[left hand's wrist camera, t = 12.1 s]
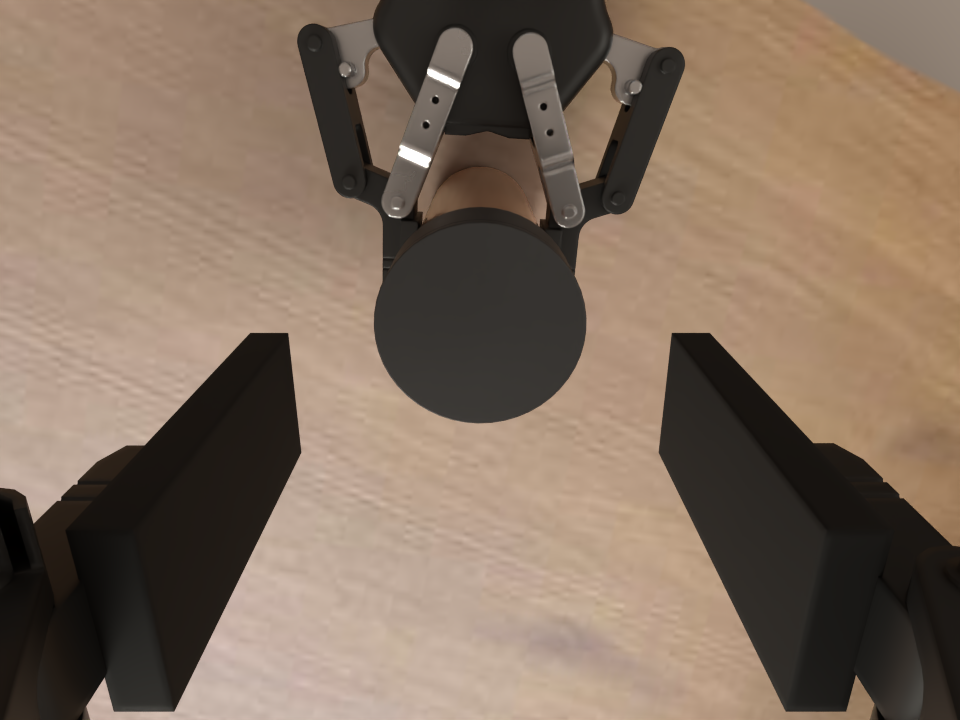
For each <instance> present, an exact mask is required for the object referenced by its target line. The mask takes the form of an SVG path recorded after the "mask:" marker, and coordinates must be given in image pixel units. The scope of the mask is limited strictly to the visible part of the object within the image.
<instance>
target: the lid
mask: <svg viewBox="0 0 960 720" xmlns="http://www.w3.org/2000/svg"><path fill="white" fill-rule="evenodd" d="M374 332H375V340H376V344H377V348H378V352H379V355H380V357H381V360H382V362H383V364H384V366H385V368H386V370H387V372H388V373H389V375H390V377H391V378H392V379H393V381H394V382H395V383H396V385H397V386H398V387H399V388H400V389H401V390H402V391H403V392H404V393H405V394H406V395H407V396H408V397H409V398H411V399H412V400H413V401H414V402H416V403H417V404H419V405H420V406H422V407H423V408H425V409H427V410H428V411H431V412H433V413H435V414H437V415H439V416H442V417H445V418H448V419H451V420H456V421H461V422H467V423H493V422H499V421H505V420H508V419H512V418H515V417H518V416H521V415H523V414H525V413H528V412H530V411H532V410H533V409H535V408H537V407H539V406H540V405H542V404H543V403H544V402H546V401H547V400H548V399H550V398H551V397H552V396H553V395H554V394H555V393H556V392H557V391H558V390H559V389H560V388H561V387H562V386H563V385H564V383H565V382H566V381H567V380H568V379H569V377H570V375H571V374H572V372H573V370H574V369H575V367H576V365H577V362H578V360H579V358H580V356H581V352H582V349H583V345H584V341H585V334H586V311H585V303H584V300H583V296H582V292H581V289H580V287H579V285H578V283H577V280H576V278H575V276H574V274H573V272H572V270H571V268H570V266H569V264H568V262H567V260H566V258H565V256H564V255H563V253H562V251H561V250H560V248H559V247H558V245H557V244H556V243H555V242H554V240H553V239H552V238H551V237H550V236H549V235H548V234H547V233H546V232H545V231H544V230H543V229H542V228H540V227H539V226H537V225H536V224H535V223H533V222H532V221H530V220H528V219H526V218H524V217H522V216H520V215H518V214H515V213H513V212H510V211H507V210H502V209H498V208H490V207H469V208H463V209H458V210H454V211H451V212H448V213H445V214H442V215H440V216H438V217H436V218H434V219H432V220H430V221H429V222H427V223H426V224H424V225H423V226H421V227H420V228H419V229H418V230H417V231H415V232H414V233H413V234H412V235H411V236H410V237H409V238H408V240H407V241H406V242H405V243H404V244H403V246H402V247H401V249H400V250H399V252H398V253H397V255H396V257H395V259H394V261H393V263H392V265H391V267H390V269H389V271H388V273H387V275H386V277H385V279H384V281H383V283H382V285H381V287H380V291H379V294H378V297H377V300H376V306H375V312H374Z"/></svg>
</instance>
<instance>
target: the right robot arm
mask: <svg viewBox="0 0 960 720" xmlns="http://www.w3.org/2000/svg"><path fill="white" fill-rule="evenodd" d="M297 44H298V48H299V52H300V56H301V60H302V64H303V68H304V72H305V76H306V79H307V83H308V87H309V91H310V95H311V99H312V103H313V106H314V110H315V114H316V118H317V122H318V126H319V130H320V134H321V137H322V141H323V145H324V149H325V153H326V157H327V161H328V165H329V168H330V172H331V176H332V180H333V184H334V187H335V189H336V191H337V192H338V193H339V194H340V195H342V196H343V197H346V198H355V199H357V200H360V201H362V202H364V203H367V204H369V205H371V206H373V207H374V208H375V209H376V210H377V211H378V212H379V213H380V215H381V217H382V221H383V281H384V279H385V277H386V275H387V273H388V271H389V269H390V267H391V265H392V263H393V261H394V259H395V257H396V255H397V253H398V252H399V250H400V249H401V247H402V246H403V244H404V243H405V242H406V241H407V240H408V238H409V237H410V236H411V235H412V234H413V233H414V232H415V231H417V230H418V229H419V228H420V227H421V226H422V213H423V212H417V205H418V197H419V195H420V192H421V190H422V187H423V184H424V182H425V179H426V177H427V174H428V172H429V169H430V166H431V164H432V161H433V159H434V157H435V154H436V152H437V149H438V147H439V144H440V142H441V139H442V137H443V134H444V132H445V134H448V135H465V136H466V135H471V134H475V133H480V132H484V131H490V132H493V133H496V134H499V135H501V136H504V137H507V138H515V139H530V143H531V147H532V151H533V154H534V158H535V161H536V164H537V168H538V171H539V175H540V179H541V183H542V186H543V190H544V194H545V198H546V202H547V210H546V220H545V219H540V228H542V229H543V230H544V231H545V232H546V233H547V234H548V235H549V236H550V237H551V238H552V239H553V240H554V242H555V243H556V244H557V245H558V247H559V248H560V250H561V251H562V253H563V255H564V256H565V258H566V260H567V262H568V264H569V266H570V268H571V270H572V272H573V274H574V275H575V266H576V257H577V248H578V239H579V233H580V230H581V228H582V227H583V225H584V224H585V223H586V222H588V221H589V220H591V219H593V218H596V217H600V216H603V215H606V214H610V213H612V214H622V213H624V212H626V211H628V210H629V209H630V207H631V206H632V204H633V202H634V199H635V197H636V194H637V191H638V189H639V186H640V184H641V181H642V178H643V176H644V173H645V171H646V168H647V165H648V163H649V160H650V157H651V155H652V152H653V150H654V147H655V144H656V142H657V139H658V137H659V134H660V131H661V129H662V126H663V124H664V121H665V118H666V116H667V113H668V110H669V108H670V105H671V103H672V100H673V97H674V95H675V92H676V90H677V87H678V84H679V82H680V79H681V77H682V74H683V71H684V68H685V60H684V57H683V55H682V53H681V52H680V51H679V50H678V49H676V48H673V47H662V48H653V47H650V46H647V45H644V44H642V43H639V42H636V41H633V40H630V39H627V38H624V37H621V36H618V35H615V34H613V27H612V23H611V20H610V18H609V15H608V13H607V9H606V5H605V0H380V2H379V4H378V6H377V8H376V10H375V13H374V17H373V19H369V20H364V21H359V22H355V23H350V24H345V25H340V26H335V27H331V28H326V27H323V26H321V25H318V24H308V25H306V26H304V27H303V28H302V29H301V31H300V32H299V34H298V39H297ZM377 49H381V50H382V52H383V54H384V55H385V57H386V58H387V60H388V62H389V63H390V65H391V66H392V68H393V69H394V71H395V73H396V74H397V76H398V77H399V79H400V80H401V82H402V84H403V85H404V87H405V88H406V90H407V92H408V93H409V95H410V96H411V98H412V99H413V101H414V103H415V106H414V109H413V112H412V114H411V117H410V120H409V122H408V125H407V128H406V131H405V133H404V136H403V139H402V141H401V144H400V147H399V152H398V155H397V158H396V160H395V163H394V166H393V169H392V171H391V173H389V172H387V171H384V170H382V169H380V168H377V167H375V166H373V163H372V159H371V155H370V150H369V146H368V142H367V138H366V133H365V129H364V125H363V121H362V116H361V112H360V108H359V103H358V99H357V95H356V91H355V88H357V87H360V86H362V85H363V84H364V83H365V82H366V80H367V78H368V75H369V66H368V64H369V59H370V57H371V55H372V54H373V52H374V51H376V50H377ZM602 63H605V64H606V65H607V66H608V67H609V69H610V71H611V74H612V82H611V94H612V96H613V98H614V99H615V100H616V101H617V102H618V103H620V104H622V106H621V109H620V111H619V114H618V117H617V120H616V123H615V125H614V128H613V131H612V134H611V137H610V139H609V142H608V145H607V148H606V151H605V153H604V156H603V159H602V162H601V165H600V167H599V170H598V173H597V176H596V178H595V179H593V180H590V181H586V182H583V183H580V184H579V183H578V178H577V174H576V170H575V166H574V157H573V152H572V148H571V144H570V139H569V135H568V131H567V127H566V123H565V119H564V115H563V111H564V110H565V109H566V107H567V106H568V105H569V104H570V102H571V101H572V100H573V99H574V97H575V96H576V95H577V94H578V93H579V91H580V90H581V89H582V88H583V86H584V85H585V84H586V83H587V81H588V80H589V79H590V78H591V76H592V75H593V74H594V73H595V72H596V70H597V69H598V68H599V67H600V65H601V64H602Z"/></svg>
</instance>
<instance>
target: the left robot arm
mask: <svg viewBox="0 0 960 720" xmlns="http://www.w3.org/2000/svg"><path fill="white" fill-rule="evenodd" d="M300 454H301V445H300V436H299V427H298V418H297V409H296V400H295V391H294V382H293V373H292V364H291V355H290V346H289V337H288V333H250V334H249V335H248V336H247V337H246V338H245V339H244V340H243V341H242V342H241V343H240V345H239V346H238V347H237V348H236V349H235V350H234V351H233V352H232V353H231V354H230V355H229V356H228V357H227V358H226V359H225V361H224V362H223V363H222V364H221V365H220V366H219V367H218V368H217V369H216V370H215V371H214V372H213V373H212V374H211V375H210V376H209V378H208V379H207V380H206V381H205V382H204V383H203V384H202V385H201V386H200V387H199V388H198V389H197V390H196V391H195V392H194V394H193V395H192V396H191V397H190V398H189V399H188V400H187V401H186V402H185V403H184V404H183V405H182V406H181V407H180V408H179V410H178V411H177V412H176V413H175V414H174V415H173V416H172V417H171V418H170V419H169V420H168V421H167V422H166V423H165V424H164V425H163V427H162V428H161V429H160V430H159V431H158V432H157V433H156V434H155V435H154V436H153V437H152V438H151V439H150V440H149V441H148V443H147V444H146V445H145V446H125V447H123V448H121V449H120V450H118V451H116V452H114V453H112V454H111V455H109V456H107V457H105V458H103V459H101V460H100V461H98V462H97V463H96V464H95V465H93V466H92V467H91V468H90V469H89V470H88V471H87V472H86V473H85V474H84V475H83V476H82V477H81V478H80V479H79V480H78V484H77V485H73V486H72V487H71V488H70V489H69V490H68V491H67V492H66V493H65V494H64V495H63V496H62V497H61V501H57V502H56V503H55V504H54V505H52V506H51V507H50V508H49V509H48V510H47V511H46V512H45V513H44V514H43V515H42V516H41V517H40V518H39V519H38V520H37V521H36V522H35V523H34V524H33V520H32V517H31V513H30V510H29V507H28V503H27V500H26V496H24V495H22V494H21V493H19V492H18V491H16V490H13V489H5V488H0V720H90V718H89V714H88V711H87V707H86V706H87V704H88V702H89V701H90V699H91V698H92V696H93V695H94V693H95V691H96V690H97V688H98V687H99V685H100V684H101V682H102V681H103V679H104V677H105V680H106V684H107V687H108V691H109V695H110V699H111V702H112V706H113V710H114V712H174V711H175V709H176V707H177V705H178V703H179V701H180V699H181V697H182V695H183V693H184V691H185V688H186V686H187V684H188V682H189V680H190V678H191V676H192V674H193V672H194V670H195V668H196V666H197V664H198V662H199V660H200V658H201V656H202V654H203V652H204V650H205V648H206V646H207V644H208V642H209V640H210V638H211V636H212V633H213V631H214V629H215V627H216V625H217V623H218V621H219V619H220V617H221V615H222V613H223V611H224V609H225V607H226V605H227V603H228V601H229V599H230V597H231V595H232V593H233V591H234V589H235V587H236V585H237V583H238V580H239V578H240V576H241V574H242V572H243V570H244V568H245V566H246V564H247V562H248V560H249V558H250V556H251V554H252V552H253V550H254V548H255V546H256V544H257V542H258V540H259V538H260V536H261V534H262V532H263V530H264V528H265V525H266V523H267V521H268V519H269V517H270V515H271V513H272V511H273V509H274V507H275V505H276V503H277V501H278V499H279V497H280V495H281V493H282V491H283V489H284V487H285V485H286V483H287V481H288V479H289V477H290V475H291V473H292V470H293V468H294V466H295V464H296V462H297V460H298V458H299V456H300ZM659 454H660V456H661V458H662V460H663V462H664V464H665V466H666V468H667V470H668V473H669V475H670V477H671V479H672V481H673V483H674V485H675V487H676V489H677V491H678V493H679V495H680V497H681V499H682V501H683V503H684V505H685V507H686V509H687V511H688V513H689V515H690V517H691V519H692V521H693V523H694V525H695V528H696V530H697V532H698V534H699V536H700V538H701V540H702V542H703V544H704V546H705V548H706V550H707V552H708V554H709V556H710V558H711V560H712V562H713V564H714V566H715V568H716V570H717V572H718V574H719V576H720V578H721V580H722V583H723V585H724V587H725V589H726V591H727V593H728V595H729V597H730V599H731V601H732V603H733V605H734V607H735V609H736V611H737V613H738V615H739V617H740V619H741V621H742V623H743V625H744V627H745V629H746V631H747V633H748V636H749V638H750V640H751V642H752V644H753V646H754V648H755V650H756V652H757V654H758V656H759V658H760V660H761V662H762V664H763V666H764V668H765V670H766V672H767V674H768V676H769V678H770V680H771V682H772V684H773V686H774V688H775V691H776V693H777V695H778V697H779V699H780V701H781V703H782V705H783V707H784V709H785V711H786V712H846V710H847V706H848V702H849V699H850V695H851V691H852V687H853V684H854V680H855V676H856V675H857V677H858V678H859V680H860V682H861V683H862V685H863V686H864V688H865V689H866V691H867V692H868V694H869V696H870V697H871V699H872V700H873V702H874V703H875V704H874V707H873V711H872V714H871V718H870V720H960V547H957V546H952V545H951V544H950V543H949V542H948V541H947V540H946V539H945V538H944V537H943V536H942V535H941V534H940V533H939V532H938V531H937V530H936V529H935V528H934V527H933V526H932V525H930V524H929V523H928V522H927V521H926V520H925V519H924V518H923V517H922V516H921V515H920V514H919V513H918V512H917V511H916V510H915V509H914V508H913V507H912V506H911V505H910V504H909V503H908V502H907V501H906V500H905V499H904V498H900V497H899V494H898V493H897V492H896V491H895V490H894V489H893V488H892V487H891V486H890V485H889V484H888V483H887V482H883V478H882V477H881V476H880V475H879V474H878V473H877V472H876V471H875V470H874V469H873V468H872V467H871V466H870V465H868V464H867V463H866V462H865V461H864V460H863V459H861V458H860V457H858V456H856V455H854V454H852V453H851V452H849V451H847V450H845V449H843V448H841V447H840V446H838V445H836V444H834V443H812V441H811V440H810V439H809V438H808V437H807V436H806V435H805V434H804V433H803V432H802V431H801V430H800V429H799V428H798V427H797V425H796V424H795V423H794V422H793V421H792V420H791V419H790V418H789V417H788V416H787V415H786V414H785V413H784V412H783V411H782V410H781V408H780V407H779V406H778V405H777V404H776V403H775V402H774V401H773V400H772V399H771V398H770V397H769V396H768V395H767V394H766V392H765V391H764V390H763V389H762V388H761V387H760V386H759V385H758V384H757V383H756V382H755V381H754V380H753V379H752V378H751V376H750V375H749V374H748V373H747V372H746V371H745V370H744V369H743V368H742V367H741V366H740V365H739V364H738V363H737V362H736V361H735V359H734V358H733V357H732V356H731V355H730V354H729V353H728V352H727V351H726V350H725V349H724V348H723V347H722V346H721V345H720V343H719V342H718V341H717V340H716V339H715V338H714V337H713V336H712V335H711V334H710V333H672V337H671V346H670V355H669V364H668V373H667V382H666V391H665V400H664V409H663V418H662V427H661V436H660V445H659Z"/></svg>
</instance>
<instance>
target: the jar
mask: <svg viewBox="0 0 960 720" xmlns="http://www.w3.org/2000/svg"><path fill="white" fill-rule="evenodd" d="M469 207H490V208H498V209H502V210H507V211H510V212H513V213H515V214H518V215H520V216H522V217H524V218H526V219H528V220H530V221H532V222H533V223H535V224H536V225H537V226H538V224H537V221H536V219H535V217H534V214H533V212H532V209H531V207H530V205H529V202H528V200H527V198H526V195H525V193H524V192H523V190H522V188H521V187H520V186H519V185H518V183H517V182H516V181H515V180H514V179H513V178H511V177H510V176H509V175H507V174H506V173H504V172H502V171H500V170H497V169H494V168H490V167H482V166H480V167H470V168H466V169H463V170H460V171H458V172H456V173H455V174H453V175H452V176H450V177H449V178H448V179H447V180H445V181H444V182H443V184H442V185H441V186H440V187H439V189H438V190H437V192H436V194H435V196H434V198H433V200H432V203H431V205H430V207H429V210H428V212H427V215H426V217H425V219H424V222H423V224H422V226H423V225H424V224H426V223H427V222H429V221H430V220H432V219H434V218H436V217H438V216H440V215H442V214H445V213H448V212H451V211H454V210H458V209H463V208H469Z"/></svg>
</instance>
